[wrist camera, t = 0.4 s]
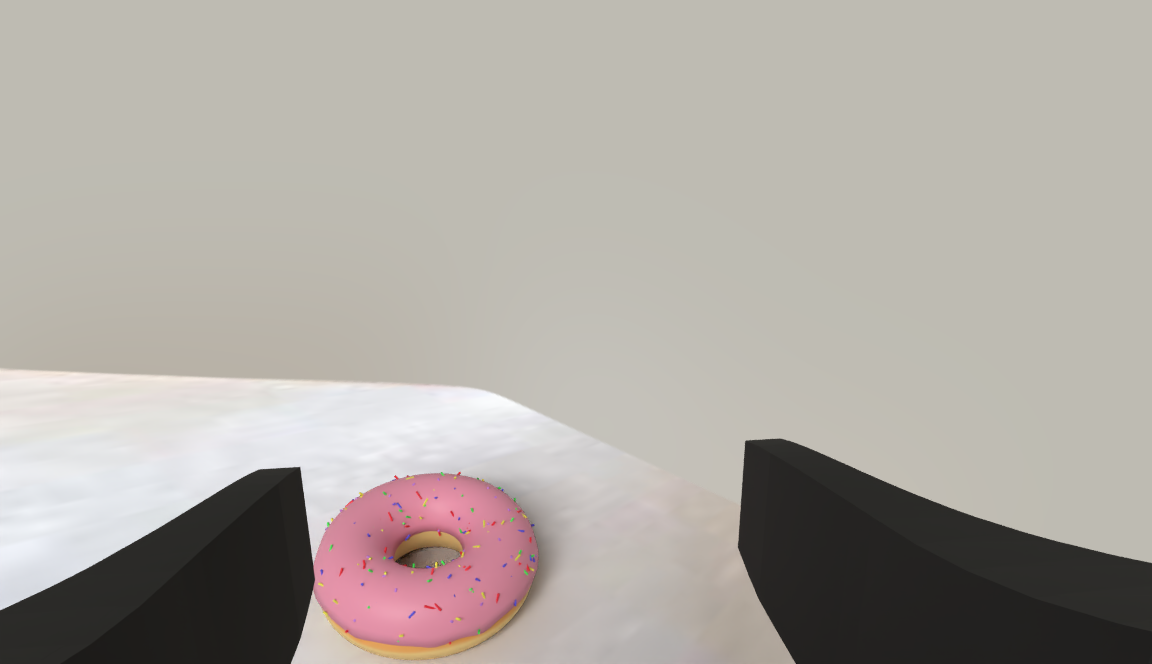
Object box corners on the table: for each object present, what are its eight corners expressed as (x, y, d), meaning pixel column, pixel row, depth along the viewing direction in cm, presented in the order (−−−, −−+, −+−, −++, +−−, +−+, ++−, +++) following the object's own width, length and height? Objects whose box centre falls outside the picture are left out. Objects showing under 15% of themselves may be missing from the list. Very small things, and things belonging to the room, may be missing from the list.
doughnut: (304, 701, 29) (292, 629, 27) (326, 525, 38) (318, 465, 37) (557, 658, 31) (561, 591, 30) (518, 504, 41) (519, 446, 39)
